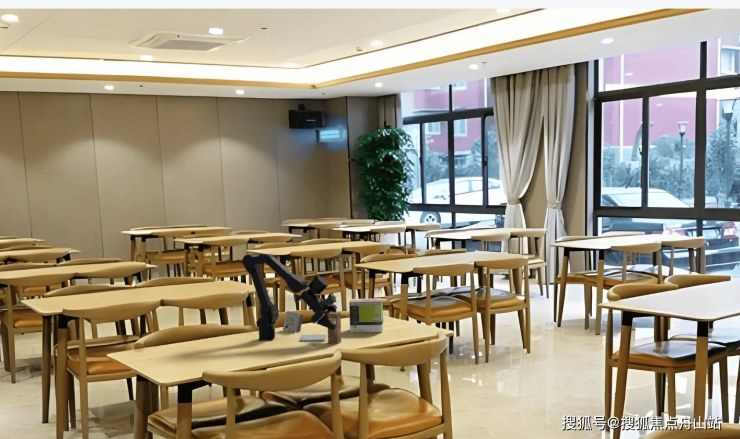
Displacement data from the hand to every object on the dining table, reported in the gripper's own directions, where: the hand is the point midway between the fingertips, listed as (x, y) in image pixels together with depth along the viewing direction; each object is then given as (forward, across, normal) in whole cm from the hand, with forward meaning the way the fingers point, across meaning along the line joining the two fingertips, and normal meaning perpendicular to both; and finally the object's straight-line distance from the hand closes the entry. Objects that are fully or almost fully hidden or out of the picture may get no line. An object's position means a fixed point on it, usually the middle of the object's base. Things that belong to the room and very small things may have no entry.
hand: (337, 327), depth 311 cm
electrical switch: (-16, +20, +26) cm, 37 cm away
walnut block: (+4, 0, +6) cm, 7 cm away
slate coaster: (-5, +6, +14) cm, 16 cm away
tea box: (+8, +28, +2) cm, 29 cm away
